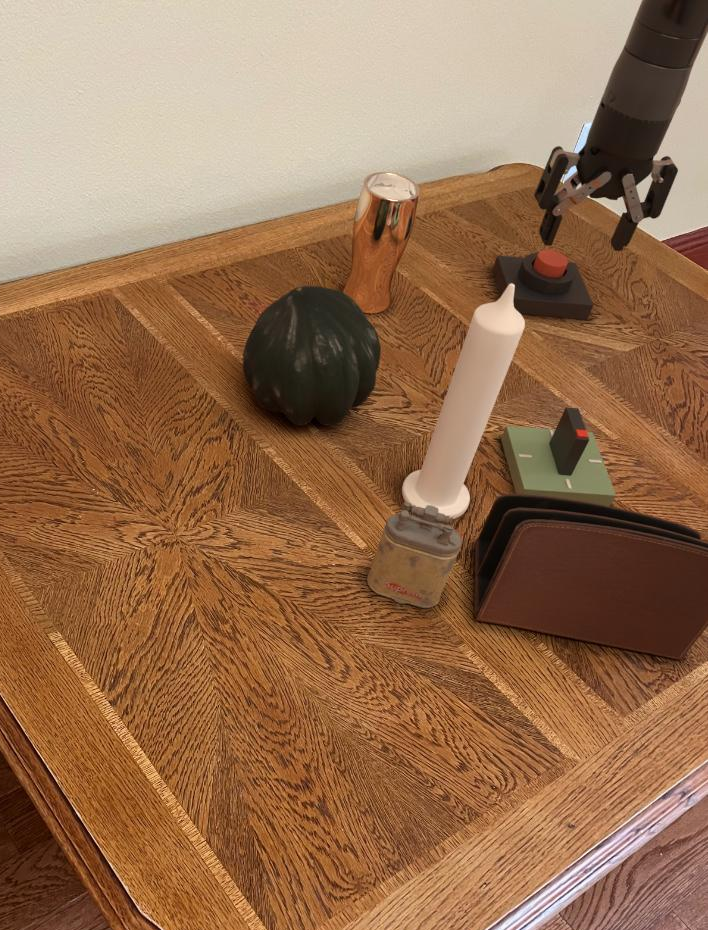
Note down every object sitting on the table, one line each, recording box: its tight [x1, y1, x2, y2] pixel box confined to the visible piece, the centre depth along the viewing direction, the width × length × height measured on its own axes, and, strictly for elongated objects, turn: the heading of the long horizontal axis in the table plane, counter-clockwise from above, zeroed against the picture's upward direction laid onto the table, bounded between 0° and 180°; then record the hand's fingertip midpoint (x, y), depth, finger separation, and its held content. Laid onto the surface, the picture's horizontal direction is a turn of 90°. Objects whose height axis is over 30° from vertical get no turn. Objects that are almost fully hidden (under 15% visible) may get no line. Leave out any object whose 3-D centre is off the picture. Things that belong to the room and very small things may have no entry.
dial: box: [549, 406, 589, 475], centre depth 99 cm, size 5×1×5 cm, turn 1°
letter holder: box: [473, 493, 708, 661], centre depth 85 cm, size 10×20×14 cm, turn 81°
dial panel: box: [500, 425, 617, 507], centre depth 102 cm, size 10×10×2 cm
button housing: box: [491, 252, 594, 321], centre depth 124 cm, size 11×10×4 cm
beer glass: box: [342, 171, 421, 314], centre depth 114 cm, size 7×7×15 cm
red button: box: [533, 249, 569, 278], centre depth 122 cm, size 4×4×2 cm
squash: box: [242, 285, 382, 426], centre depth 101 cm, size 14×15×15 cm
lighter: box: [366, 501, 463, 609], centre depth 85 cm, size 7×4×10 cm, turn 73°
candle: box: [401, 283, 526, 520], centre depth 88 cm, size 7×7×25 cm
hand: (580, 244), depth 110 cm, fingers open, 8 cm apart
